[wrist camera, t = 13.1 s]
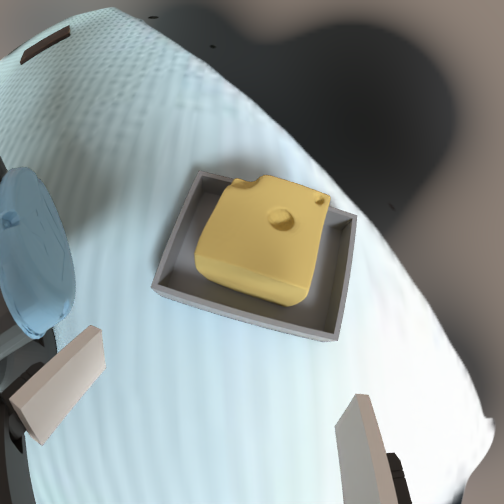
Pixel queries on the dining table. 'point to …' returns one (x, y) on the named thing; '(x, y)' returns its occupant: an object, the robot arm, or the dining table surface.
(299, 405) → the dining table surface
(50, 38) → the hardcover book
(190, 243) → the bin
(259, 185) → the cheese
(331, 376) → the dining table surface
